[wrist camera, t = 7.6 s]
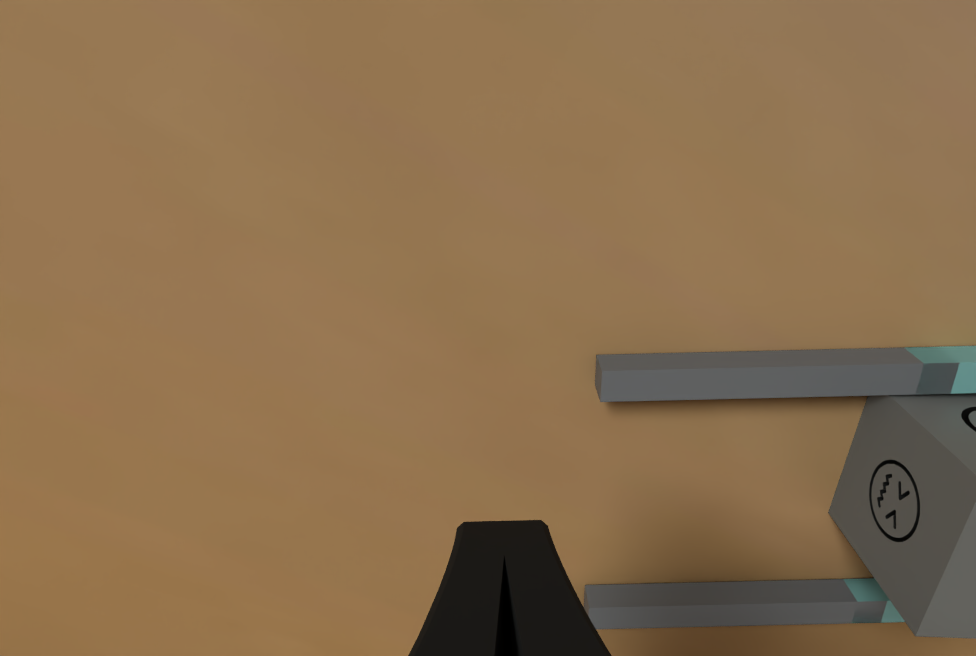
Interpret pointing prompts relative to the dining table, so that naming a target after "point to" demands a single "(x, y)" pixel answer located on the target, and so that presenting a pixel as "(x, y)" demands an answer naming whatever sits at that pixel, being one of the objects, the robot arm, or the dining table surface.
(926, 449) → the dice cube
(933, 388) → the guide lane
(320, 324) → the dining table surface
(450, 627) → the robot arm
